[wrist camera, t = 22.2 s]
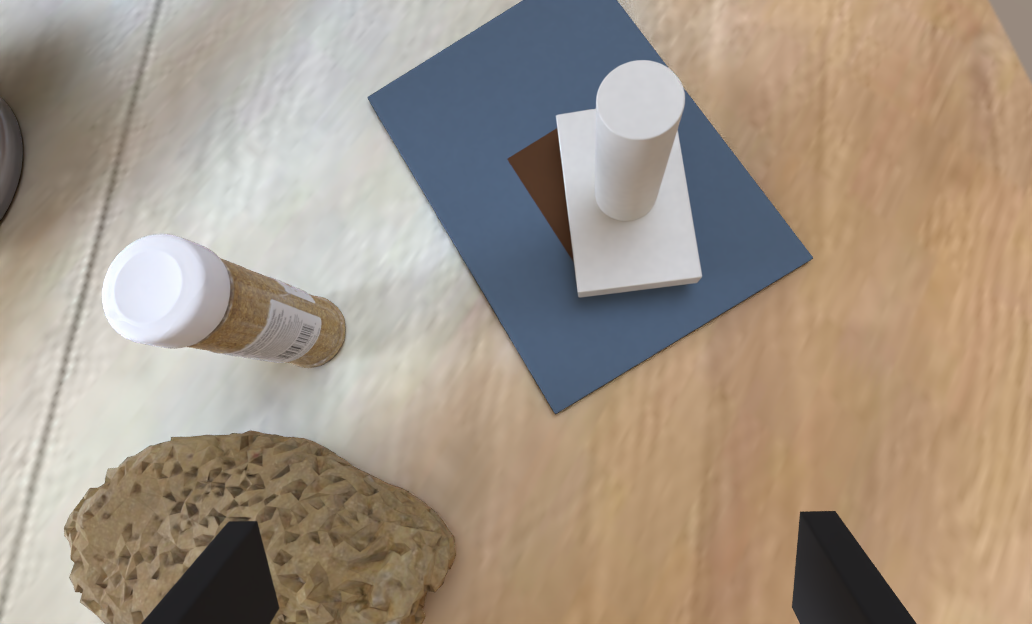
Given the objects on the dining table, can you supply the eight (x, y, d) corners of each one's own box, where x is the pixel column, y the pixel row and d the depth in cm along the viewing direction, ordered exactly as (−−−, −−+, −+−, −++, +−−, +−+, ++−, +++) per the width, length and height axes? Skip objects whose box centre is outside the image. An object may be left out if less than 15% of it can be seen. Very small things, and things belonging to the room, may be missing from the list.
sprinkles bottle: (327, 284, 36) (173, 209, 23) (360, 344, 35) (219, 302, 22) (267, 322, 36) (79, 270, 23) (298, 384, 35) (120, 365, 22)
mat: (369, 101, 38) (366, 96, 37) (586, -34, 37) (586, -40, 37) (555, 414, 32) (555, 414, 32) (810, 260, 32) (813, 257, 32)
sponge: (478, 491, 33) (169, 351, 33) (462, 559, 26) (59, 377, 25) (390, 680, 34) (90, 546, 34) (349, 801, 27) (-39, 629, 26)
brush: (578, 302, 33) (571, 240, 21) (558, 136, 35) (541, -4, 23) (694, 288, 32) (752, 215, 20) (666, 119, 34) (704, -35, 22)
